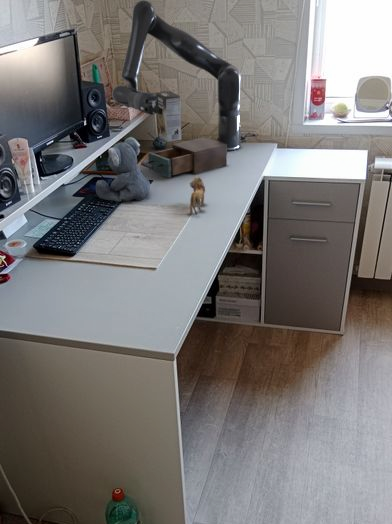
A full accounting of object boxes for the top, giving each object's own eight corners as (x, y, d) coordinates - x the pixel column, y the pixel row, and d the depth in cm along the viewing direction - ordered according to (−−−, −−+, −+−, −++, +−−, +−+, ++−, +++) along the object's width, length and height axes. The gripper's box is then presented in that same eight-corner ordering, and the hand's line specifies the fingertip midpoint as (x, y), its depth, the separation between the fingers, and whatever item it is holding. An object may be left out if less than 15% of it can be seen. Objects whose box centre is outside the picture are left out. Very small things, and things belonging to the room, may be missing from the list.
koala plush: (121, 185, 215) (116, 131, 204) (161, 192, 208) (158, 137, 196) (93, 199, 203) (86, 143, 192) (134, 207, 195) (129, 150, 184)
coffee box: (158, 136, 224) (155, 92, 214) (173, 134, 226) (171, 90, 216) (166, 142, 217) (164, 97, 207) (182, 139, 219) (180, 95, 210)
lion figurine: (190, 200, 199) (189, 175, 194) (205, 200, 199) (204, 175, 194) (189, 216, 187) (188, 189, 182) (205, 216, 187) (205, 189, 182)
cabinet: (194, 174, 224) (194, 151, 219) (172, 165, 234) (172, 144, 229) (226, 165, 233) (226, 144, 228) (204, 158, 242) (204, 137, 237)
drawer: (156, 181, 215) (155, 163, 211) (137, 172, 224) (135, 155, 220) (200, 169, 226) (200, 152, 222) (180, 162, 235) (179, 145, 231)
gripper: (130, 95, 220) (154, 102, 209) (160, 90, 227) (185, 96, 216) (131, 115, 224) (155, 123, 214) (161, 109, 231) (185, 117, 221)
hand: (170, 109), depth 215 cm, fingers closed on coffee box, 7 cm apart
